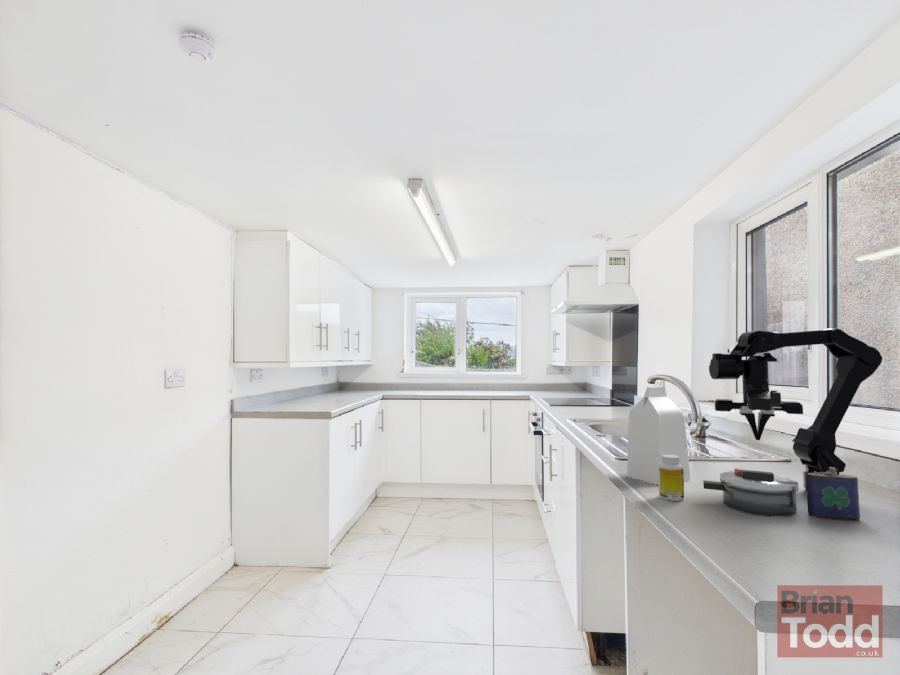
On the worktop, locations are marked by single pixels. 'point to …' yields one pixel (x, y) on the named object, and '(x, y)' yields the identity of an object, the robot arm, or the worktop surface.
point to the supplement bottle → (671, 478)
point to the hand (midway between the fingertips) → (757, 440)
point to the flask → (832, 495)
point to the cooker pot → (755, 500)
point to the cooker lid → (758, 481)
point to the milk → (655, 435)
